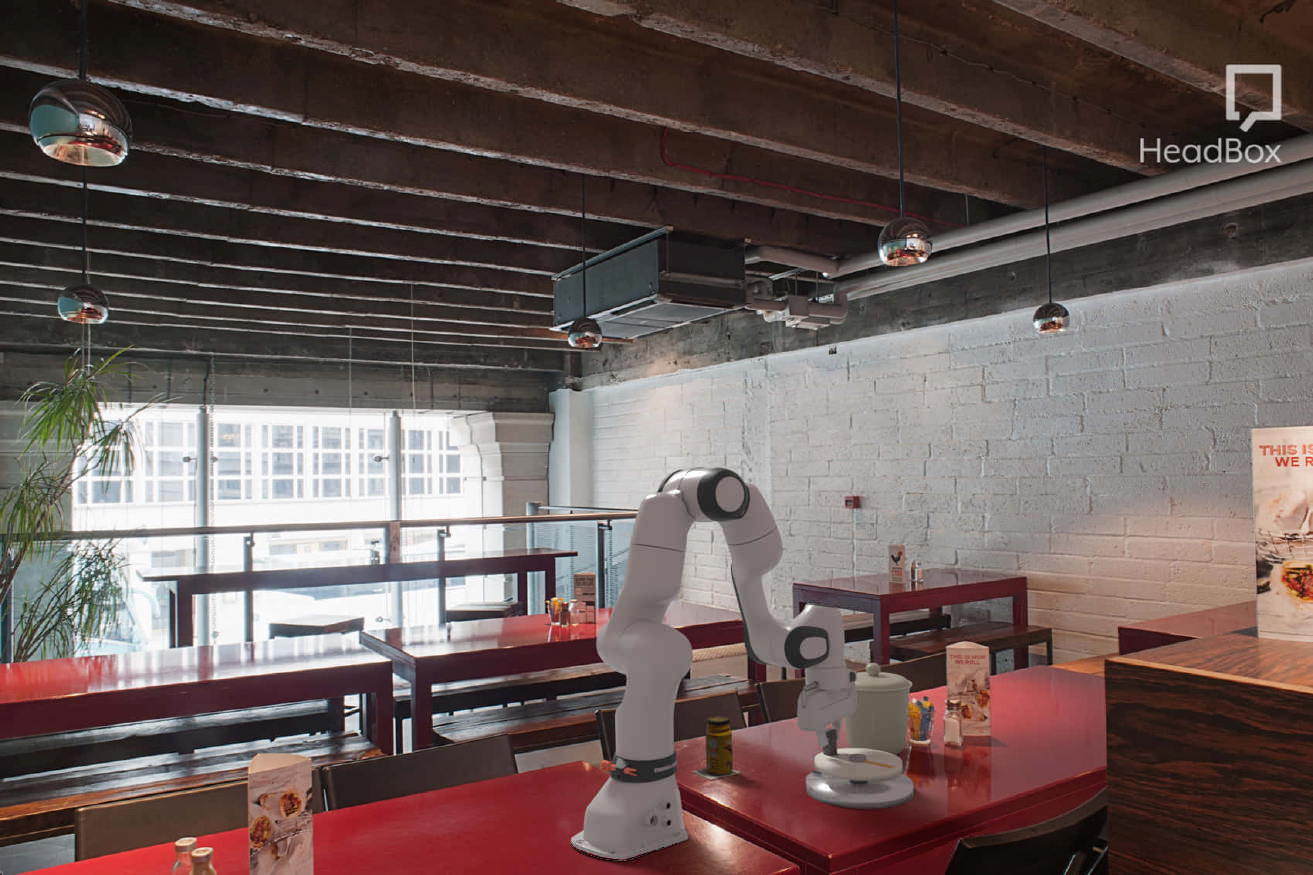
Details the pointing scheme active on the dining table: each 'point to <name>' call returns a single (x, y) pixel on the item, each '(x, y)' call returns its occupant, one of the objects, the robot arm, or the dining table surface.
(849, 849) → the dining table surface
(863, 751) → the handwheel
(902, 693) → the canister
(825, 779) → the disc
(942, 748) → the dining table surface
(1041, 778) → the dining table surface
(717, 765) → the condiment
